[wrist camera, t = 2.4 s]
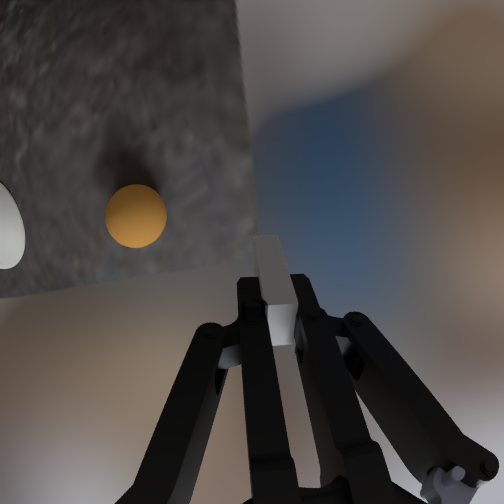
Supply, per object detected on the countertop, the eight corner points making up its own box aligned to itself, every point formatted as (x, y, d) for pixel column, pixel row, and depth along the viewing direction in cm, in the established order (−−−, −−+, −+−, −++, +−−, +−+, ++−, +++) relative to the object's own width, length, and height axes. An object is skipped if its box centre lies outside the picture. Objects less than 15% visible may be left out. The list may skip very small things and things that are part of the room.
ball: (112, 179, 25) (89, 201, 20) (167, 173, 25) (155, 194, 21) (122, 231, 28) (104, 261, 23) (174, 228, 28) (165, 258, 24)
